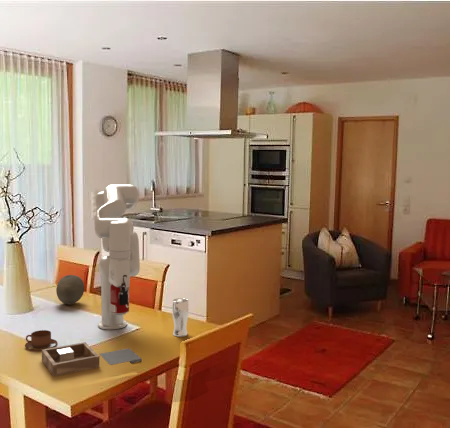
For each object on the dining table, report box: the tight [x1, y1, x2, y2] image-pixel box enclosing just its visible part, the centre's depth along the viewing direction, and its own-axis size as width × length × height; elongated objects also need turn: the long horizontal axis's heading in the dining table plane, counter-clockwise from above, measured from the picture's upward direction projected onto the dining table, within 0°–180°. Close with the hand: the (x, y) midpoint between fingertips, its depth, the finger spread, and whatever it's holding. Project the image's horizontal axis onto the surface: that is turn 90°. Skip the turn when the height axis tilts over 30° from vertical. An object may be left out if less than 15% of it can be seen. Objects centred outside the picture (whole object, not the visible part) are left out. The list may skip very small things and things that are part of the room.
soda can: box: [110, 284, 130, 316], centre depth 191 cm, size 7×7×12 cm
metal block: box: [56, 347, 74, 363], centre depth 187 cm, size 5×5×4 cm
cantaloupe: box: [55, 274, 85, 306], centre depth 261 cm, size 14×14×15 cm
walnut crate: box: [41, 342, 100, 377], centre depth 185 cm, size 16×16×5 cm
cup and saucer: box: [24, 329, 58, 352], centre depth 202 cm, size 12×12×6 cm
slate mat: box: [99, 347, 142, 366], centre depth 193 cm, size 12×12×1 cm
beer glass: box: [171, 297, 190, 338], centre depth 220 cm, size 7×7×15 cm
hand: (119, 301), depth 191 cm, fingers closed on soda can, 6 cm apart
